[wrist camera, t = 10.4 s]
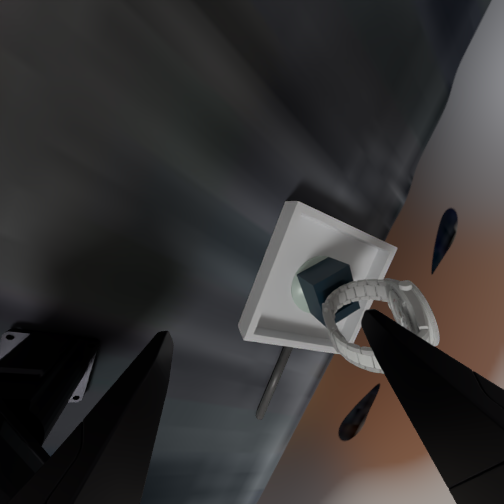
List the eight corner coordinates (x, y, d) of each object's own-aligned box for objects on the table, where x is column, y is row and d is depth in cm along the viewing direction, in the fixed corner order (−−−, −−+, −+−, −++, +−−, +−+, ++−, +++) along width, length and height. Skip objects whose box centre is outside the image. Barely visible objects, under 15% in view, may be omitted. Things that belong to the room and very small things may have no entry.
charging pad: (301, 414, 29) (311, 433, 27) (203, 414, 24) (205, 437, 22) (378, 243, 26) (397, 247, 24) (285, 201, 21) (298, 201, 18)
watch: (352, 288, 25) (468, 347, 15) (297, 320, 23) (383, 412, 13) (342, 248, 23) (467, 285, 13) (282, 281, 21) (368, 352, 11)
